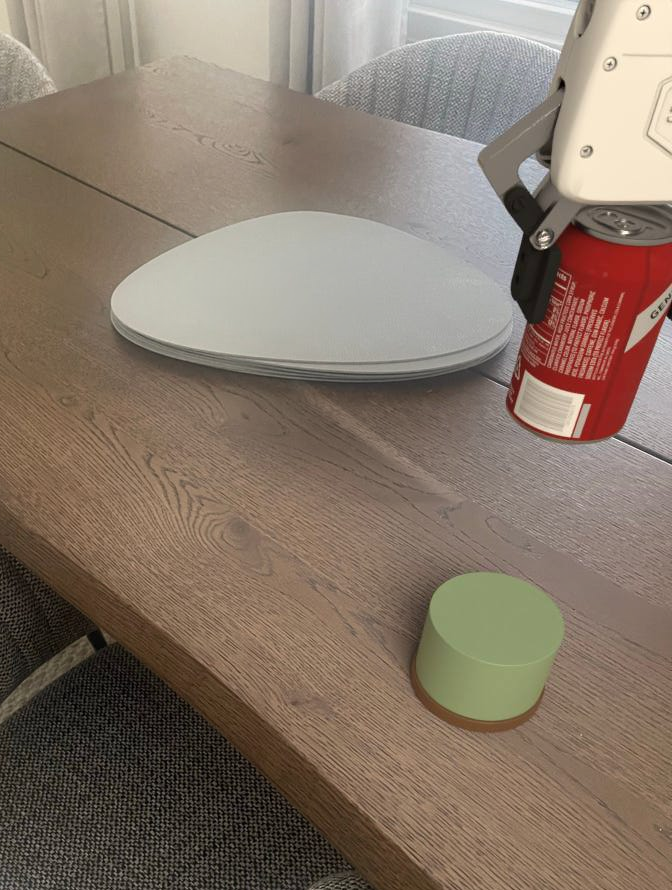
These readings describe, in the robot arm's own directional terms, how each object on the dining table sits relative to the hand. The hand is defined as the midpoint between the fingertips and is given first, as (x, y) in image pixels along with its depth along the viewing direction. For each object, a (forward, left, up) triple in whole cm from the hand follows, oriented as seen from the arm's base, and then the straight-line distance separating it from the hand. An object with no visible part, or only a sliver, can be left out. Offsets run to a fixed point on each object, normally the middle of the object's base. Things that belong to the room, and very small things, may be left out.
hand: (598, 308), depth 52 cm
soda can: (0, 0, -7) cm, 7 cm away
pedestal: (+2, +4, -26) cm, 26 cm away
